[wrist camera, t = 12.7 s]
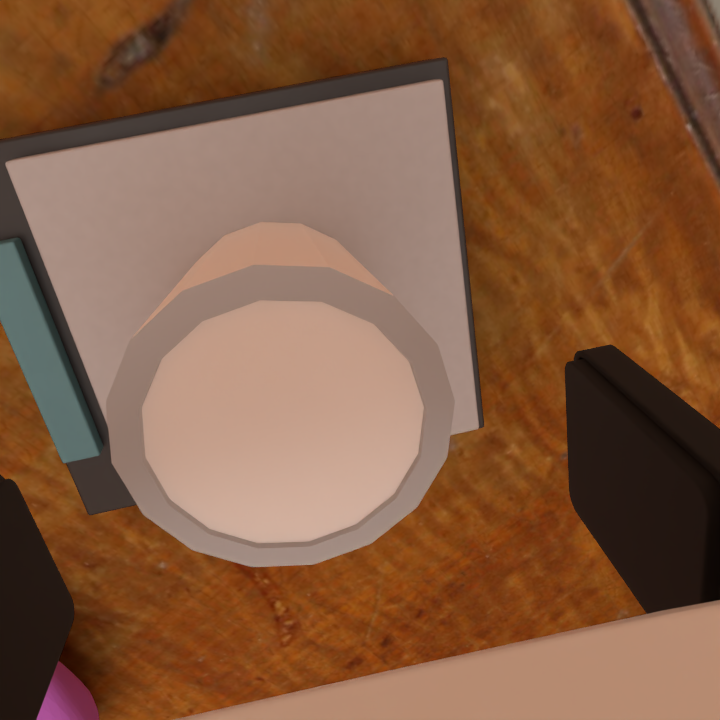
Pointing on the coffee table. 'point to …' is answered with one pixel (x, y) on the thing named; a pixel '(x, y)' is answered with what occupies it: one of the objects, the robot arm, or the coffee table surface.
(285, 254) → the shot glass
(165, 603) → the coffee table surface
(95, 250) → the scale
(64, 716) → the blob
